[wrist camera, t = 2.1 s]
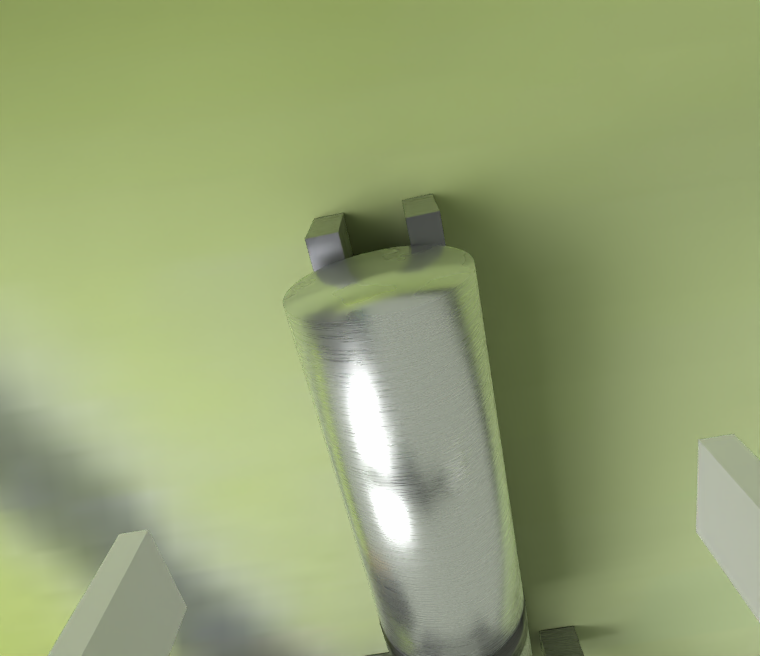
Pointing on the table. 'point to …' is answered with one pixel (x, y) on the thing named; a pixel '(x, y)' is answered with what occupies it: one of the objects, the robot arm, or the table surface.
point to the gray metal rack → (424, 228)
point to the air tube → (416, 445)
